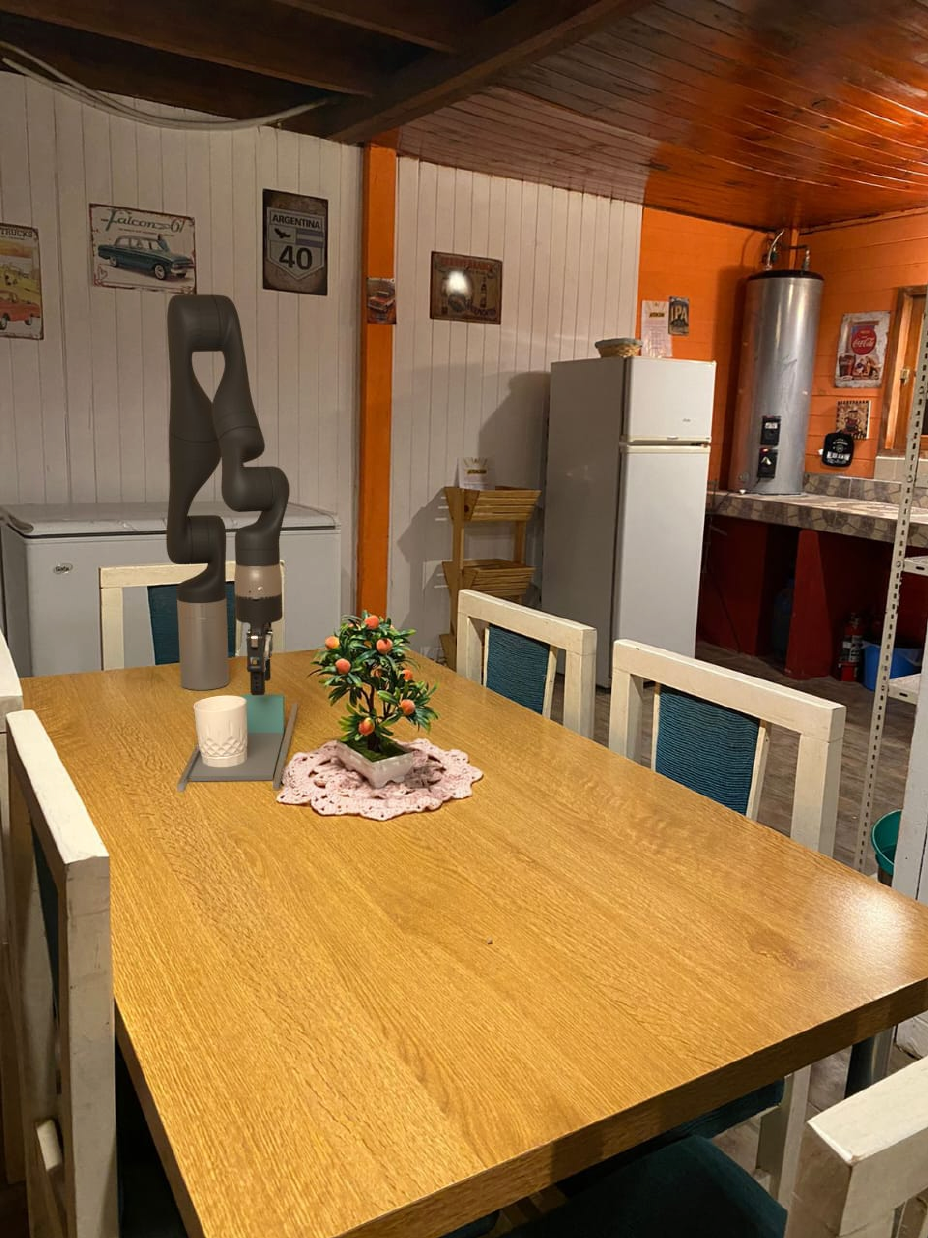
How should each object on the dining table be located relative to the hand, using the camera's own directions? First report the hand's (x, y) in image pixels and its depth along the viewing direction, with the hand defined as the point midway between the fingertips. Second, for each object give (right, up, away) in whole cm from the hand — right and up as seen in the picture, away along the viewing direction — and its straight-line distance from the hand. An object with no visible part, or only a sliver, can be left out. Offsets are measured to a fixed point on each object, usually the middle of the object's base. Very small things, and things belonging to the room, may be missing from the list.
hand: (261, 687), depth 162 cm
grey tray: (-2, -10, -6) cm, 12 cm away
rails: (-2, -9, -2) cm, 10 cm away
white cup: (-3, -11, -10) cm, 16 cm away
